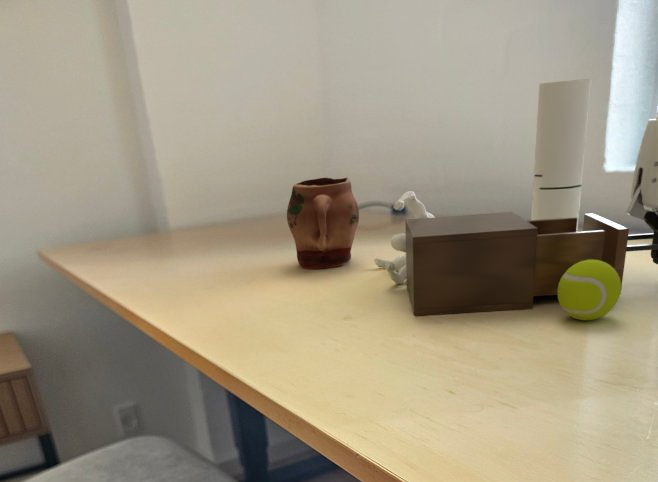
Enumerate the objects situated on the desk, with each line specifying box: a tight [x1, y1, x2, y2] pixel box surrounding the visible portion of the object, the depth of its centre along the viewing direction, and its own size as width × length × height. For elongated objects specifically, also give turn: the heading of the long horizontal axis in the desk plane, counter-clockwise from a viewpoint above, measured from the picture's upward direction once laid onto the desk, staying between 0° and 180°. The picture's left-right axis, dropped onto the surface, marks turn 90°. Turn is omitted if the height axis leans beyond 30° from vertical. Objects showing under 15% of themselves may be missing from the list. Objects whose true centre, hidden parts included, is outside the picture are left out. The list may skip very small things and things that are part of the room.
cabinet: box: [405, 211, 538, 317], centre depth 86 cm, size 15×15×10 cm
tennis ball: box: [557, 260, 622, 321], centre depth 74 cm, size 7×7×7 cm
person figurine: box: [373, 190, 435, 285], centre depth 101 cm, size 13×13×18 cm
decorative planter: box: [286, 177, 360, 270], centre depth 112 cm, size 20×12×14 cm, turn 5°
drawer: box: [526, 212, 658, 297], centre depth 85 cm, size 22×13×8 cm, turn 87°
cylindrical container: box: [530, 78, 593, 232], centre depth 101 cm, size 7×7×25 cm
